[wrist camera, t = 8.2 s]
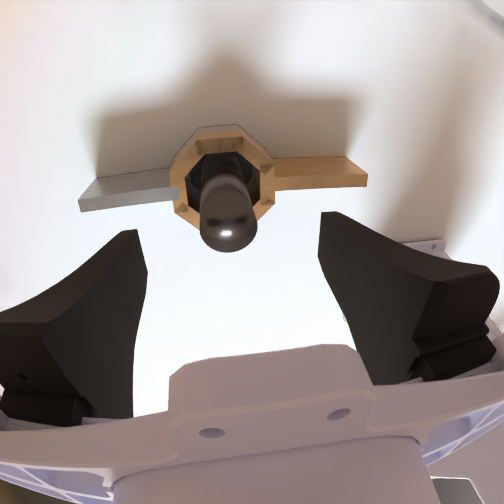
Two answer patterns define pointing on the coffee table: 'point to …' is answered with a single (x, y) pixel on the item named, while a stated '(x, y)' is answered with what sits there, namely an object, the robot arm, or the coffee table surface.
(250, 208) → the hinge pin
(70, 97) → the coffee table surface
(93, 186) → the hinge
